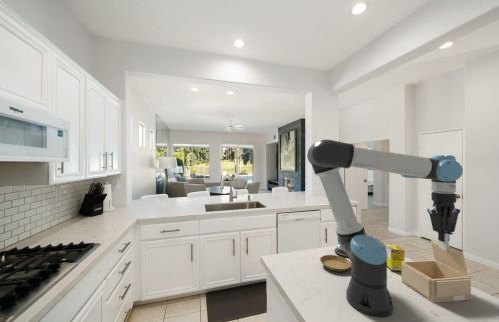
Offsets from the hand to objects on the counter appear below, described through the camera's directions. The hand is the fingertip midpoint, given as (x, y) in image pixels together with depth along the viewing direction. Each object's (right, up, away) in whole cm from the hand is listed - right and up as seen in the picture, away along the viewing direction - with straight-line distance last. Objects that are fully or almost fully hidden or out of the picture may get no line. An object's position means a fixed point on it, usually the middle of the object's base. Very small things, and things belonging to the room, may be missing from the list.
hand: (443, 248), depth 85 cm
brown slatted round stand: (-24, -18, +36) cm, 47 cm away
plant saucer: (-37, -18, +20) cm, 46 cm away
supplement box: (-8, -18, +17) cm, 26 cm away
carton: (-5, -17, 0) cm, 18 cm away
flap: (+1, -3, 0) cm, 4 cm away
